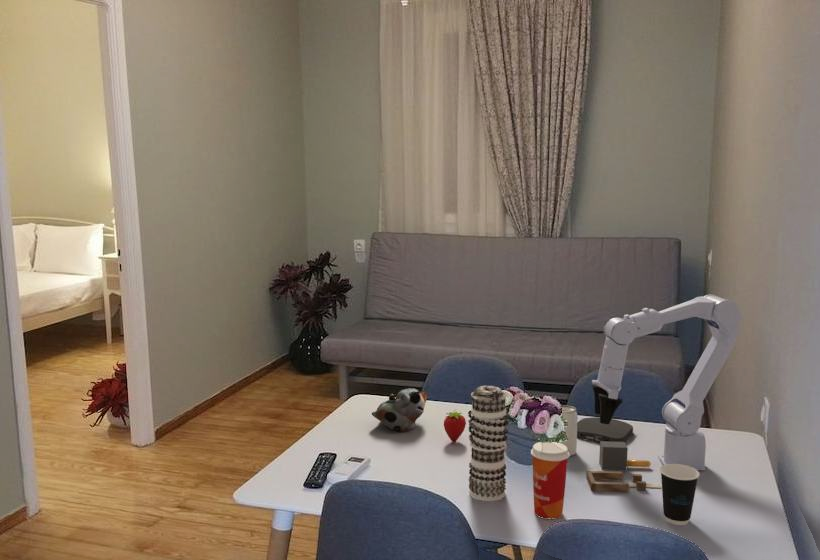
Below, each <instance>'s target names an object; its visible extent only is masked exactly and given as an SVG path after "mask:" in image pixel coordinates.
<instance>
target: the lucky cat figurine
mask: <svg viewBox="0 0 820 560" xmlns="http://www.w3.org/2000/svg"><path fill="white" fill-rule="evenodd" d="M426 403H427V391H423V392H421V391H419V390H418V389H416V388H410V387H409V388H405V389H401V390H400V391H399V392H397V394H396V396H395V394H393V393H390V394H389V395H388V400H386V401H383V402H382V403H380V404H379V405H378V407H377V408H376V411H372V412H371V415H372V417H374V418H375V419H377V420H378V421H379V422H381V423H382V424H383V425H384V426H385V427H387V428H389V429H391V430H394V431H395V430H397V432H398V433H404V432H408V431H411V430H413V429H414V428H415V426H416V421H417V420H418V418H420V417H421V416H422V414H423V413H424V412H425V406H426Z"/></svg>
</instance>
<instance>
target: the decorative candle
mask: <svg viewBox="0 0 820 560" xmlns="http://www.w3.org/2000/svg"><path fill="white" fill-rule="evenodd" d="M470 397H472V400H471V403H472V405H471V407H470V409H471V410H469V411H467V414H468V415H467V416H468V417H469V419H468V432H469V433H470V434H469V436H468V438H469V439H468V440H469V446H470V447H471V450H470V451H471V455H470V462H469V463H468V465H469V466H468V468H469V470H468V474H469V477H468V482H469V483H468V494H469V496H470V497H471V498H473V499H475V500H477V501H483V502H495V500H496V501H500V500H502V499H504V498H505V497H506V489H507V488H506V484H507V481H506V480H507V479H506V475H507V473H506V469H507V465H506V457H505V449H506V448H507V442H506V441H507V440H508V435H507V434H508V433H509V430H508V428H506V427H507V426H508V425H509V420H508V419H509V418H510V415H509V414H508V413H507V408H506V398H507V394H506V393H504V392H503V390H502V389H501V388H500V387H499V386H495V385H480V386H478V387H476V389H474V391H473V392H471V393H470ZM503 497H504V498H503ZM501 498H502V499H501ZM499 499H500V500H499Z"/></svg>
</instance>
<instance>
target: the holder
mask: <svg viewBox="0 0 820 560" xmlns="http://www.w3.org/2000/svg"><path fill="white" fill-rule="evenodd" d="M623 477H624V473H623V471H614V470H586V475H585V478H586V481H587V484H588V487H589V489H590V491H591V492H611V493H613V492H616V493H629V492H630V490H629V488H636V491H647V489H662V484H660V483H647V482H646V481H643V475H642V474H640V473H638V474H637V473H633V474H632V480H631V481H632V482H623V480H624V478H623ZM603 481H604V482H603ZM607 481H609V482H607ZM610 481H611V482H610ZM612 481H621V482H612Z"/></svg>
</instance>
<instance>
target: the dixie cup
mask: <svg viewBox="0 0 820 560" xmlns="http://www.w3.org/2000/svg"><path fill="white" fill-rule="evenodd" d="M659 472H660V477H661V487H662V488H661V492H662V494H661V495H662V506H663V507H662V509H663V515H664V519H665V521H666V522H667V523H669V524H672V525H675V526H686V525H688V524H689V521H690V519H691V517H692V511H693V506H694V501H695V494H696V488H697V485H698V484H697V483H698V479H699V477H700V476H701V475H700V471H699V470H696V469H694V468H692V467H689V466H686V465H680V464H667V465H662V466H660V468H659Z"/></svg>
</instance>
